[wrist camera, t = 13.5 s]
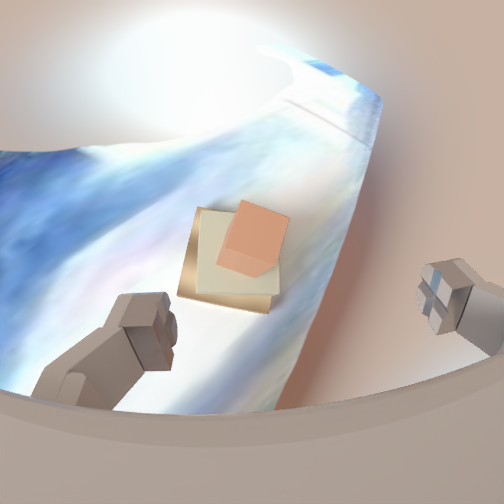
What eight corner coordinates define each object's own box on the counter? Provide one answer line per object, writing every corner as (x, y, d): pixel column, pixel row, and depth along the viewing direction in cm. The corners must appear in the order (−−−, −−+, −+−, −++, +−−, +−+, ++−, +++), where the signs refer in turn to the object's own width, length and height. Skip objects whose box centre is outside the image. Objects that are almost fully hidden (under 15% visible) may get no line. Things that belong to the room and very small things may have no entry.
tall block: (254, 278, 33) (275, 265, 26) (215, 264, 33) (225, 247, 25) (266, 240, 34) (289, 217, 27) (228, 226, 34) (241, 199, 26)
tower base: (262, 314, 38) (269, 313, 36) (177, 296, 37) (176, 294, 34) (275, 233, 41) (282, 226, 39) (196, 214, 40) (197, 206, 37)
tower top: (272, 296, 36) (279, 293, 33) (195, 293, 34) (197, 290, 31) (271, 224, 38) (278, 216, 35) (199, 219, 36) (201, 210, 34)
